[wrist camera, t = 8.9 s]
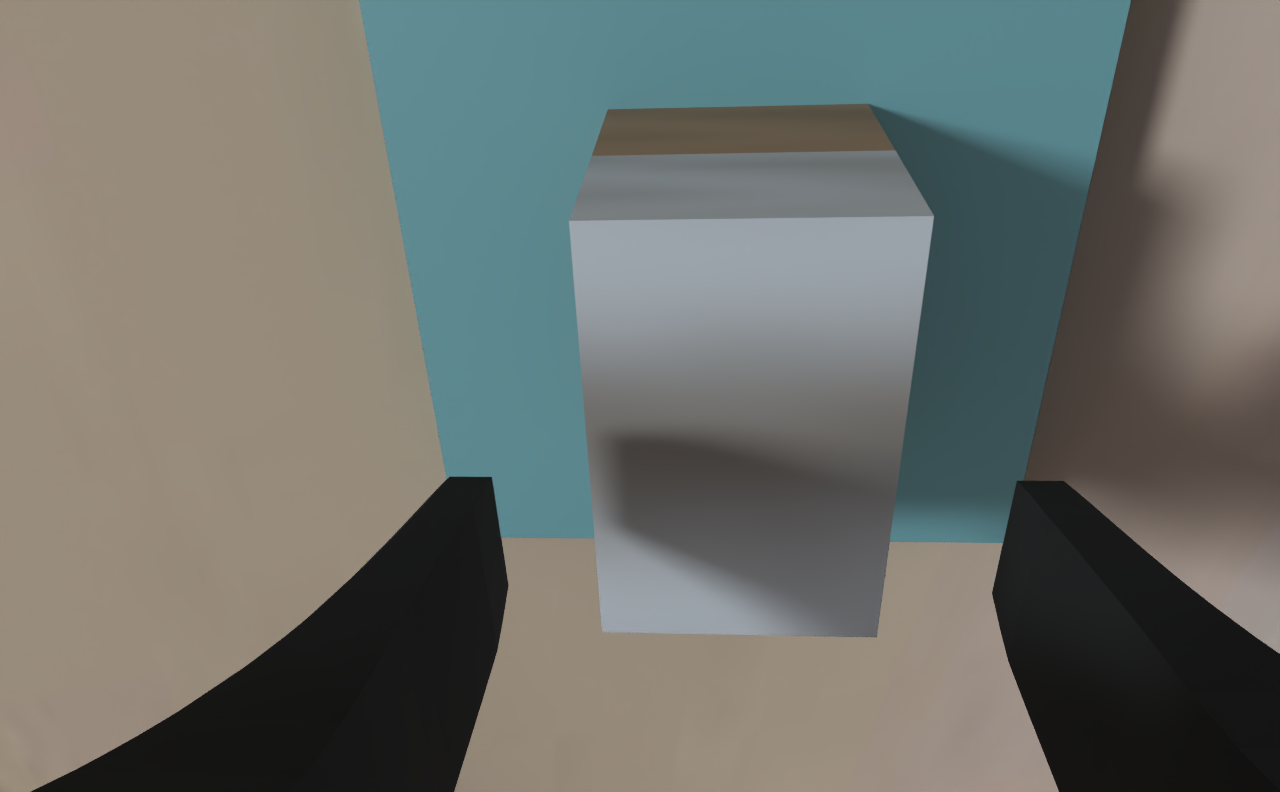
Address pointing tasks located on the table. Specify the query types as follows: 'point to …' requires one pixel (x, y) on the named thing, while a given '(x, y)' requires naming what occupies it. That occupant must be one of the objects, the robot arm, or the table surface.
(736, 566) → the block
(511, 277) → the teal stand
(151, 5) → the table surface
